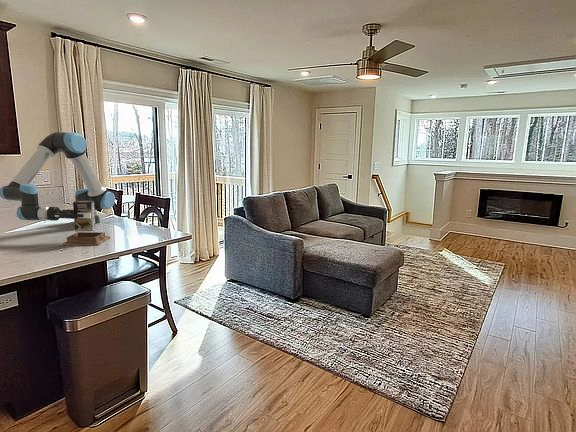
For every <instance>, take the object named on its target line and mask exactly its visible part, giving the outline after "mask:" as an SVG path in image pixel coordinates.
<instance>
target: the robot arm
mask: <svg viewBox="0 0 576 432" xmlns="http://www.w3.org/2000/svg"><path fill="white" fill-rule="evenodd" d="M87 143H88V142H87V140H86V138H85V137H84V136H83V135H82V134H80V133H78V132H73V131H69V132H68V131H67V132H66V131H65V132H64V131H63V132H62V131H61V132H60V131H59V132H58V131H56V132H52V133H50V134H49V135H47V136H45V138H43V139H42V140H41V141H40V142H39V144H38V145H37V146H36V150H35V152H34V153H33V154H32V155H31V156H30V158H29V159H28V160H27V161H26V163H24V165H23V167H22V168H21V169H20V170H19V171H18V173H17V174H16V175H15V176H14V177H13V178H12V180H11V181H9V183H8V184H7V185H4V186H1V187H0V198H1V199H3V200H7V201H16V202H20V204H21V206H18V207H17V210H16V216H17V219H19V220H22V221H44V222H47V221H52V222H53V221H55V222H56V221H60V219H70V220H74V218H75V220H76V219H77V217H78V218H91V213H74V210H73V209H60V208H59V207H58V206H40V205H39V194H38V193H39V191H38V187H37V186H38V185H36V184H35V183H32V181H34V179H35V178H36V176H37V175H38V174H39V173H40V171H41V170H42V169H43V167H44V166H45V165H46V164H47V162H48V161H49V160H50V159H51V158H54V157H55V155H57V154H58V153H63V154H64V156H65V158H66V159H67V160H70V161H71V162H72V164H73V166H74V169H76V171H77V173H78V175H79V176H80V179H81V180H82V182H83V183H84V185H85V187H86V188H81V189H80V188H79V189H77V190H75V192H74V193H75V194H74V197H75V201H94V212H95V224H98V223H100V222H101V219H100V216H99V214H98V210H97V209H100V210H109V209H111V208H113V206H114V205H115V201H116V196H115V194H114V192H112V191H108V189H107V187H106V185H102V183H101V181H100V178H99V177H98V175H97V173H96V171H95V170H94V167H93V166H92V164H91V162H90V160H89V158H88V156H87V154H86V153H87V148H88V147H87V145H88V144H87Z"/></svg>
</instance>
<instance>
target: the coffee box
mask: <svg viewBox="0 0 576 432" xmlns="http://www.w3.org/2000/svg"><path fill="white" fill-rule="evenodd" d="M72 206H73V207H72V208H73V209H72V210H74V213H91V218H78V217H77V219H76V220H75V218H74V219H73V221H74V232H75V233H77V232H95V230H96V223H95V212H94V201H76V200H75V201H73V202H72Z"/></svg>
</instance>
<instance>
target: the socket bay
mask: <svg viewBox="0 0 576 432" xmlns="http://www.w3.org/2000/svg"><path fill="white" fill-rule="evenodd" d="M110 239H111V236H109V235H108V236H107V235H106V232H101V231H99V232H98V231H97V232H95V231H81V232H75V233H73V234H71V235H69V236H66V241H64V242H63V244H62V246H100V245H101V244H103V243H104V242H106V241H108V240H110Z"/></svg>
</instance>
